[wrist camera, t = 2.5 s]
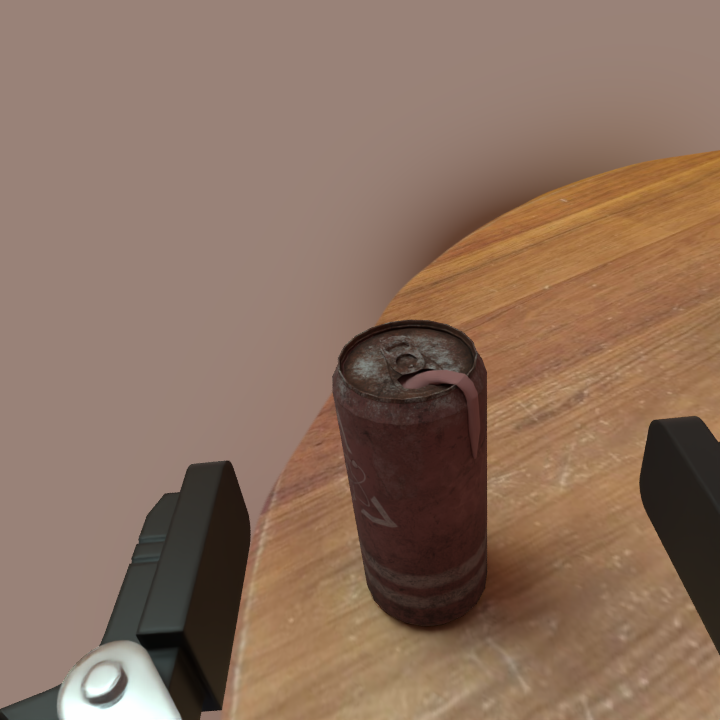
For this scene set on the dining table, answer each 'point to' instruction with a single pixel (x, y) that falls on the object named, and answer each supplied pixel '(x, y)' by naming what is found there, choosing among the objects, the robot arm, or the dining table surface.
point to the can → (417, 465)
